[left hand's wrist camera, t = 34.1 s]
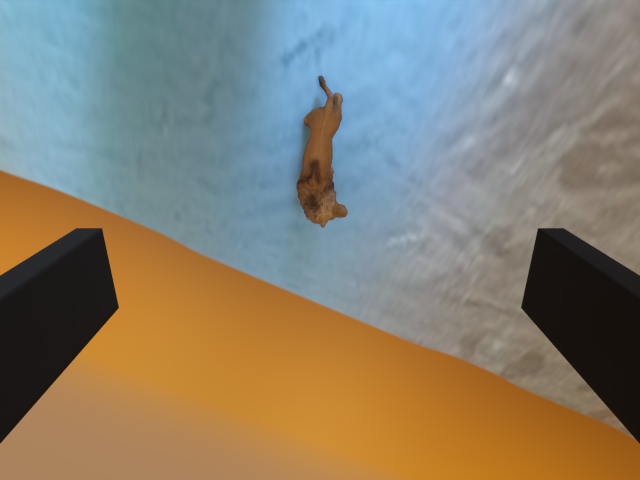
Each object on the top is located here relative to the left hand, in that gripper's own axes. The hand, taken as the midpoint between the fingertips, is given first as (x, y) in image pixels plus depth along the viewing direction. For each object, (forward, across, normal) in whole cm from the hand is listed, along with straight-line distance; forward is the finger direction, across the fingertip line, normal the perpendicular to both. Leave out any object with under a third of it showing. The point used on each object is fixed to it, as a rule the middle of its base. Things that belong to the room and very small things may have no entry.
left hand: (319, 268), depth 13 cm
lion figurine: (+26, 0, 0) cm, 26 cm away
